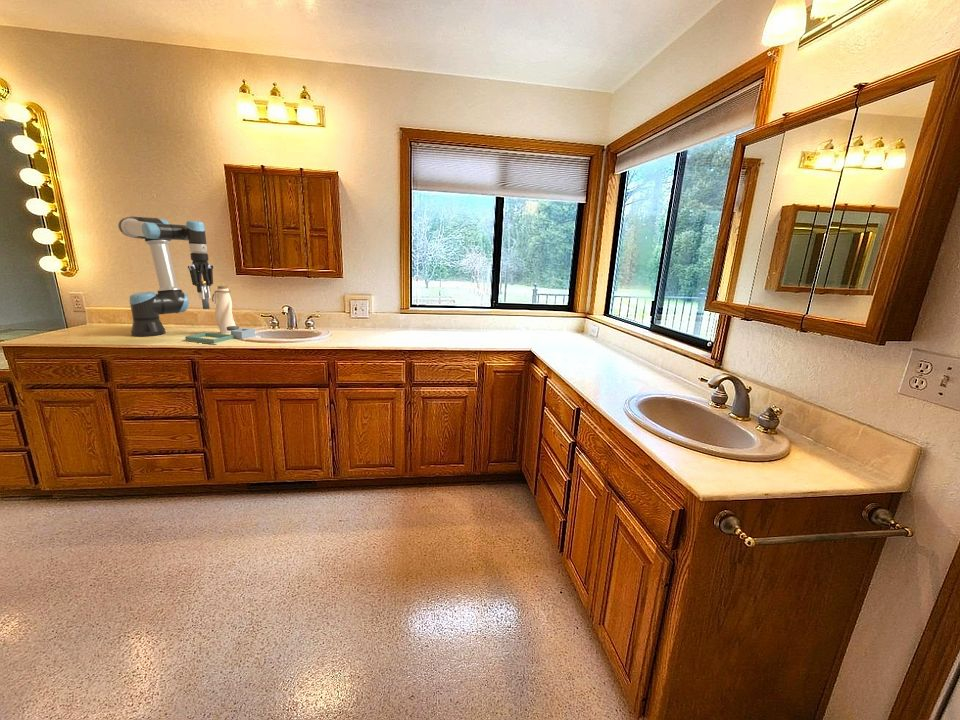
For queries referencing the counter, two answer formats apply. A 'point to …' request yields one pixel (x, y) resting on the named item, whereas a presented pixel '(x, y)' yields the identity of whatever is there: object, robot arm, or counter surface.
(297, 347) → the counter surface
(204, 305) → the lock pin
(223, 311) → the water bottle
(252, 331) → the tensioner block
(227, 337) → the tray
